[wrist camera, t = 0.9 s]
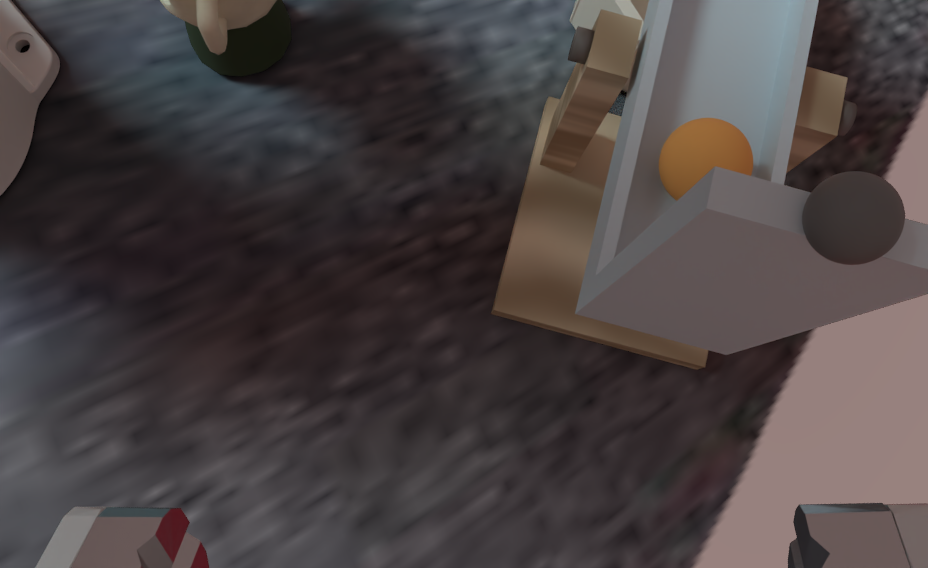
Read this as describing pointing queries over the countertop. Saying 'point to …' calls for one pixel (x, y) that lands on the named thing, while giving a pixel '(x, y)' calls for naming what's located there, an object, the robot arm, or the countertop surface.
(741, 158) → the ball
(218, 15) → the character mug
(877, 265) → the tipping trough
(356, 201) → the countertop surface
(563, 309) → the trough stand
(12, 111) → the robot arm
